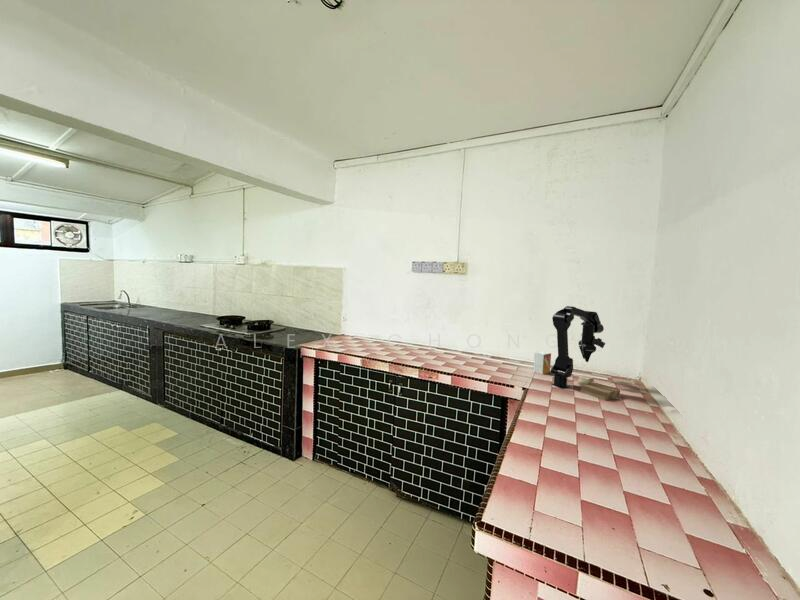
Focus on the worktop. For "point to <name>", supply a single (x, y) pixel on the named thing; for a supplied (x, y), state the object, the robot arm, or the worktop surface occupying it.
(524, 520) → the worktop surface
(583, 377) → the maple cube
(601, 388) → the walnut block
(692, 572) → the worktop surface
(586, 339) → the robot arm
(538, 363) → the small box
